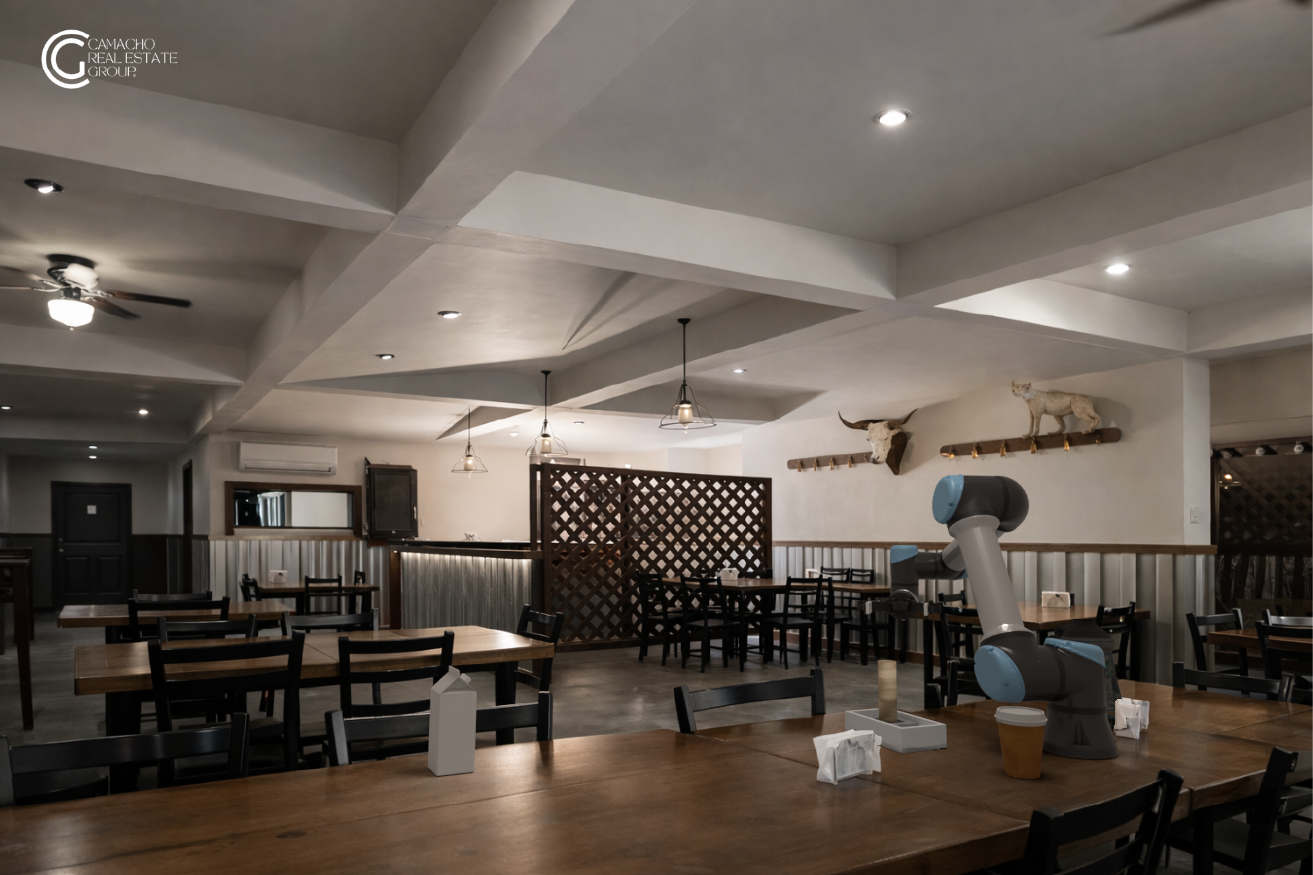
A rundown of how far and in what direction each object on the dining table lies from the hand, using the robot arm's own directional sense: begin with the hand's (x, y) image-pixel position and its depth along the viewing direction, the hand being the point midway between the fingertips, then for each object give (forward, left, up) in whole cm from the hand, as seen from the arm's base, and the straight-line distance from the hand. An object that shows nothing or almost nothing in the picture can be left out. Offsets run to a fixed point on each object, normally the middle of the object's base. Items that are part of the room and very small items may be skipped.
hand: (896, 609), depth 218 cm
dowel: (-9, +10, -27) cm, 30 cm away
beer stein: (-13, -47, -28) cm, 56 cm away
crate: (-12, +10, -28) cm, 32 cm away
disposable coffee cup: (-44, +5, -28) cm, 52 cm away
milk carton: (-2, +106, -28) cm, 110 cm away
